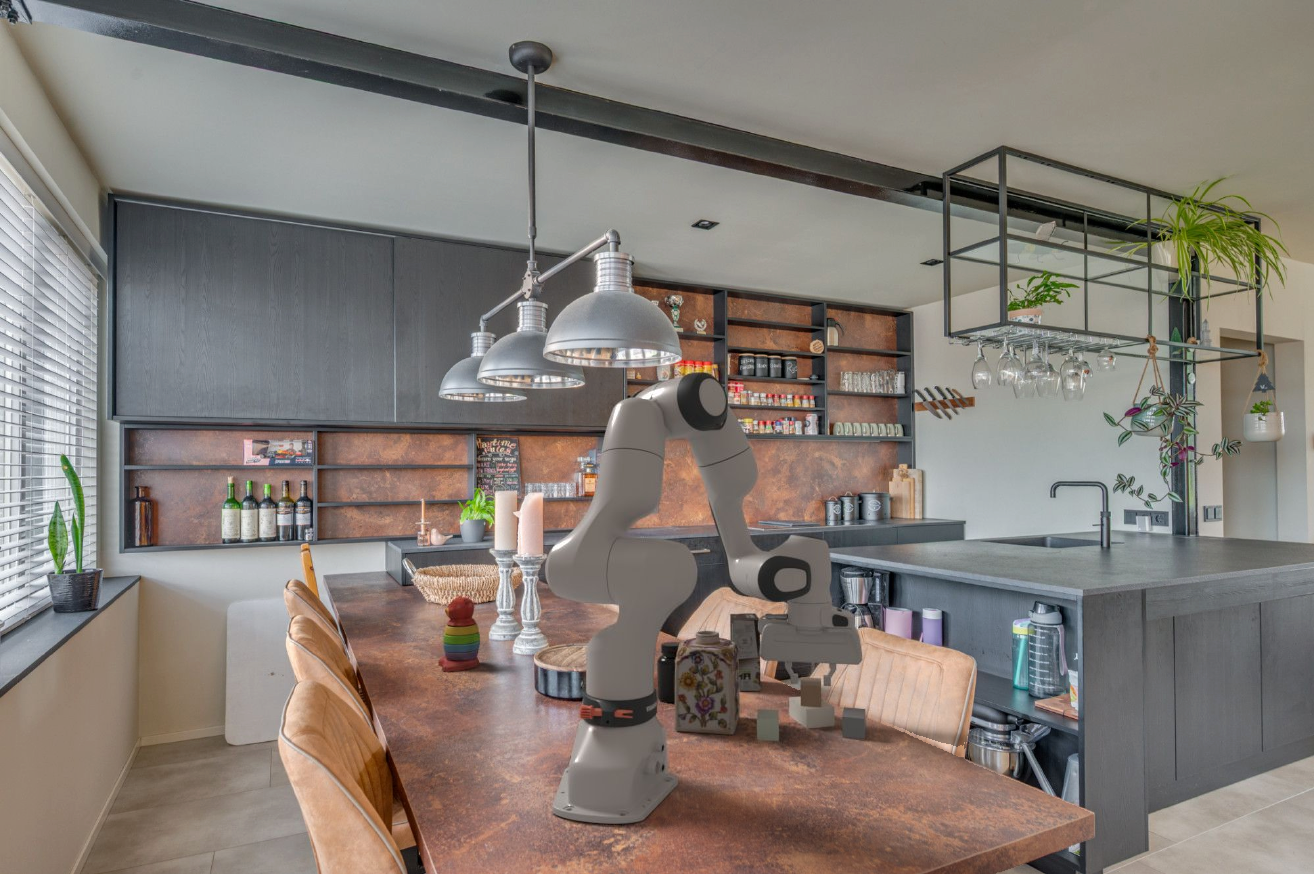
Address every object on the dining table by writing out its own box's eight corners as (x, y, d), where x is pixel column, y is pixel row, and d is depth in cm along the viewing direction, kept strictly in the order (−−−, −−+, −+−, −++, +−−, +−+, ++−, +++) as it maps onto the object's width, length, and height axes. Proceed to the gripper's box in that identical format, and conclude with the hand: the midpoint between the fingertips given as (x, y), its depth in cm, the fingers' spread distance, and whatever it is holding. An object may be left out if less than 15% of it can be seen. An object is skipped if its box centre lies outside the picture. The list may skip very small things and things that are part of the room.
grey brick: (864, 740, 138) (864, 718, 138) (842, 738, 139) (841, 716, 139) (865, 729, 143) (865, 708, 144) (844, 727, 145) (844, 707, 145)
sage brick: (778, 741, 137) (778, 719, 138) (757, 740, 138) (756, 718, 138) (778, 730, 143) (778, 709, 143) (757, 729, 144) (757, 708, 144)
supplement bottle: (689, 694, 167) (688, 640, 167) (687, 703, 160) (687, 647, 161) (658, 694, 167) (658, 640, 168) (655, 703, 161) (655, 647, 161)
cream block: (834, 727, 146) (834, 706, 146) (806, 730, 144) (806, 709, 144) (816, 714, 153) (816, 695, 154) (789, 717, 152) (789, 697, 152)
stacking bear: (436, 663, 197) (437, 595, 198) (475, 659, 201) (475, 592, 202) (443, 672, 187) (444, 601, 188) (483, 668, 191) (484, 598, 192)
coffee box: (761, 691, 169) (760, 619, 170) (733, 691, 169) (732, 619, 170) (757, 680, 178) (756, 612, 179) (730, 680, 178) (729, 612, 179)
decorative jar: (734, 736, 140) (733, 639, 141) (673, 732, 142) (673, 637, 143) (740, 716, 152) (739, 627, 153) (684, 712, 154) (683, 625, 155)
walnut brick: (821, 706, 146) (821, 686, 146) (800, 705, 146) (800, 684, 147) (821, 698, 151) (821, 678, 152) (801, 696, 152) (801, 677, 153)
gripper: (756, 615, 149) (757, 685, 148) (862, 619, 145) (863, 691, 144) (759, 610, 155) (759, 677, 154) (860, 613, 151) (861, 682, 150)
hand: (810, 684), depth 149 cm, fingers open, 5 cm apart
